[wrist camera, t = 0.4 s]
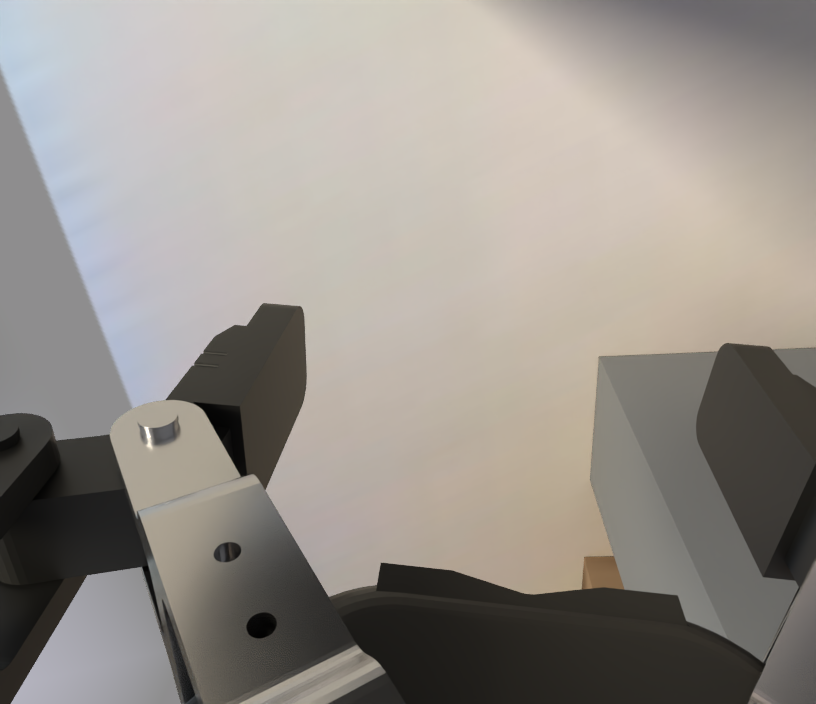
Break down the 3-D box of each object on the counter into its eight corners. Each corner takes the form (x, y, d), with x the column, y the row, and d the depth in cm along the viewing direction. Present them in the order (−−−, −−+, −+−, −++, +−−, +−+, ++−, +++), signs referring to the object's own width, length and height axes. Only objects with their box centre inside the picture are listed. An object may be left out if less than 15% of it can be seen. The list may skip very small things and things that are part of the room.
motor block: (599, 356, 33) (827, 857, 13) (844, 346, 32) (1481, 870, 12) (590, 479, 36) (758, 1013, 17) (809, 474, 35) (1256, 1032, 16)
